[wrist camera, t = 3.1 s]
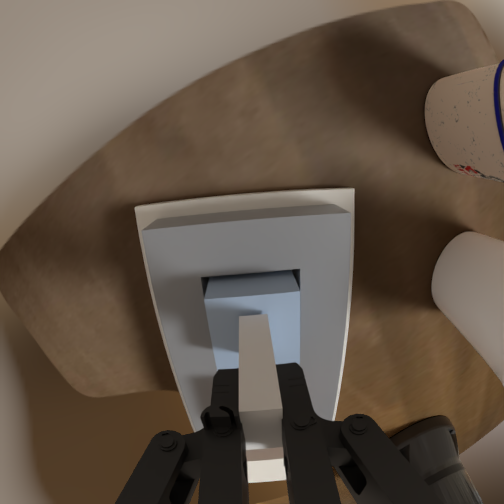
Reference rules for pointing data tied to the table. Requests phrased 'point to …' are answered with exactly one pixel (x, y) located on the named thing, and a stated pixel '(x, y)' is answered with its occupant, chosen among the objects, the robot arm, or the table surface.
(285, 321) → the blue key
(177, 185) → the table surface
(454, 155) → the teacup with lid
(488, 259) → the candle holder
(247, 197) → the key console
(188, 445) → the robot arm
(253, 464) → the white key
